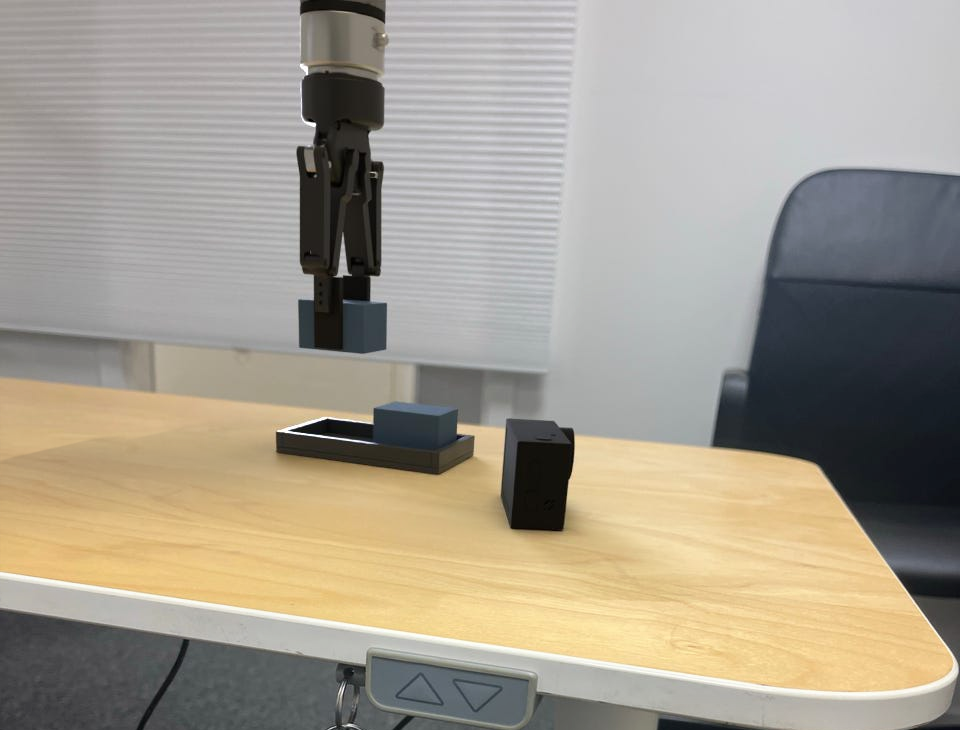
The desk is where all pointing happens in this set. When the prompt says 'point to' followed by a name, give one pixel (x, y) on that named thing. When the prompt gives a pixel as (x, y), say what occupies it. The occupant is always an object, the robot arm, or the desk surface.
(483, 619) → the desk surface
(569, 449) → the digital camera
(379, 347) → the blue-grey rectangular block
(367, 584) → the desk surface
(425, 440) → the blue block
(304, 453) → the tray
